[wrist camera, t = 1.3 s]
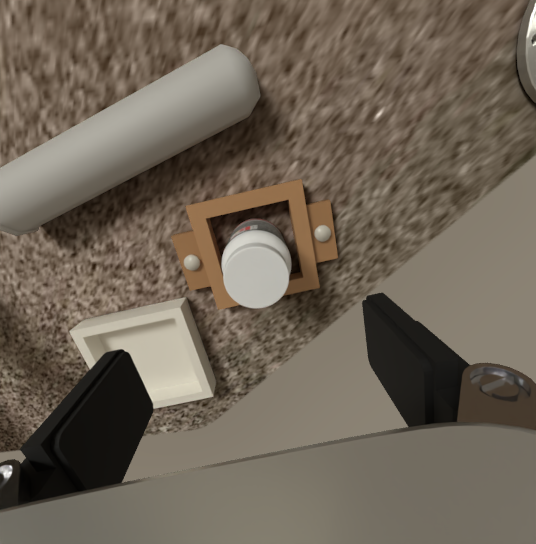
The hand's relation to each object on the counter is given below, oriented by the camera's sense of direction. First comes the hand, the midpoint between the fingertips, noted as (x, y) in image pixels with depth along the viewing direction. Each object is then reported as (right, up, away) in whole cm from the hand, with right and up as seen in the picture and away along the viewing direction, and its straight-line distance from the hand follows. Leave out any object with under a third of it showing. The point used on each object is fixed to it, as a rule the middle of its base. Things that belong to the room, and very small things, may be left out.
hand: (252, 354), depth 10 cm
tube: (-12, +15, +14) cm, 24 cm away
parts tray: (-13, -6, +21) cm, 26 cm away
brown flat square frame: (-1, +6, +17) cm, 18 cm away
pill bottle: (-1, +6, +18) cm, 19 cm away
